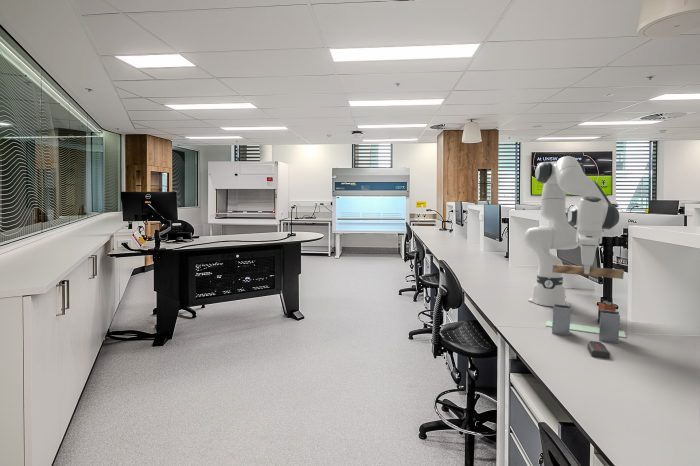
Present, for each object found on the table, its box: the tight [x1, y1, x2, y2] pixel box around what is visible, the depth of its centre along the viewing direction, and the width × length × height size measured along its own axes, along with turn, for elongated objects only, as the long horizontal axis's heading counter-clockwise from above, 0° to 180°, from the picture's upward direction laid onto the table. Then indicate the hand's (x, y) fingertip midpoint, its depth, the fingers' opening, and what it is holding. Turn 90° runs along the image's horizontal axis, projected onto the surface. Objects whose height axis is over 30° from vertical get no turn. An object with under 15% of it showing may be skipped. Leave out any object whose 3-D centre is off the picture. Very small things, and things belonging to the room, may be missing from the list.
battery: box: [597, 300, 617, 324], centre depth 176 cm, size 4×7×10 cm, turn 168°
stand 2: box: [598, 310, 621, 344], centre depth 157 cm, size 6×6×10 cm
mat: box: [545, 320, 627, 339], centre depth 169 cm, size 8×28×1 cm, turn 60°
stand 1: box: [551, 304, 572, 337], centre depth 164 cm, size 6×6×10 cm
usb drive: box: [586, 340, 611, 360], centre depth 144 cm, size 5×12×3 cm, turn 159°
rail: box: [553, 264, 625, 280], centre depth 165 cm, size 24×3×3 cm, turn 60°
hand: (586, 272), depth 165 cm, fingers closed on rail, 3 cm apart
